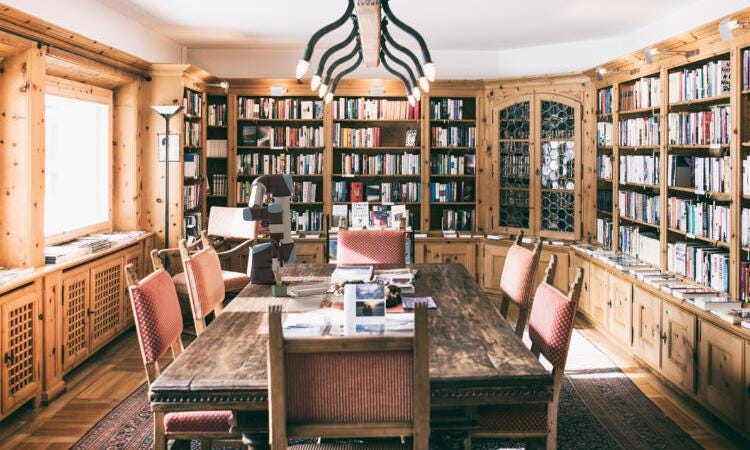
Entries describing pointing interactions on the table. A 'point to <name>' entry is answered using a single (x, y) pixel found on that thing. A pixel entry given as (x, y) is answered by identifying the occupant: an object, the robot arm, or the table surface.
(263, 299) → the table surface
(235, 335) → the table surface
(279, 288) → the pen cup
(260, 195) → the robot arm
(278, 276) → the dowel
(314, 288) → the tray
